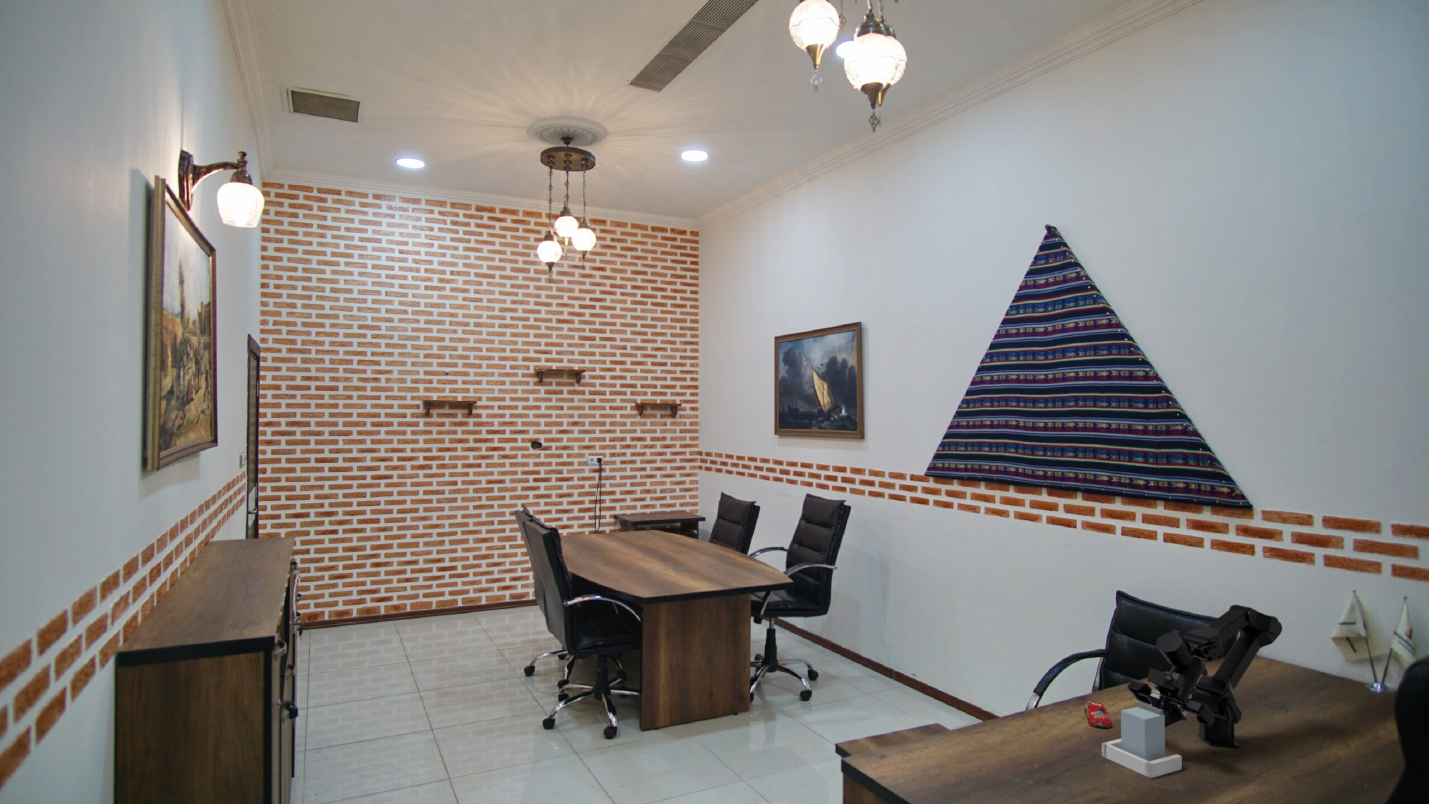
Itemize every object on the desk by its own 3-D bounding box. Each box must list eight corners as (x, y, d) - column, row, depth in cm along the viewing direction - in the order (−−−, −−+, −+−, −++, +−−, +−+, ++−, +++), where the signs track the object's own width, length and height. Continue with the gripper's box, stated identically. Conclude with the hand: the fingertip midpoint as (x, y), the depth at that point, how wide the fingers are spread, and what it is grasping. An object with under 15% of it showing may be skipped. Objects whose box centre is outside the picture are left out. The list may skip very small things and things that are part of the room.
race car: (1111, 731, 196) (1111, 716, 196) (1088, 728, 198) (1088, 713, 198) (1105, 713, 208) (1105, 698, 209) (1084, 710, 210) (1084, 696, 211)
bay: (1131, 748, 185) (1131, 735, 185) (1181, 769, 174) (1181, 756, 174) (1101, 756, 181) (1101, 743, 181) (1150, 778, 170) (1150, 764, 170)
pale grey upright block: (1141, 753, 182) (1140, 701, 182) (1165, 763, 176) (1164, 710, 177) (1121, 758, 179) (1120, 706, 179) (1145, 769, 173) (1144, 715, 174)
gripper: (1131, 646, 191) (1101, 697, 186) (1206, 668, 174) (1175, 724, 169) (1152, 674, 194) (1123, 724, 189) (1228, 698, 177) (1198, 754, 172)
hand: (1153, 730), depth 179 cm, fingers closed, pressing on pale grey upright block
